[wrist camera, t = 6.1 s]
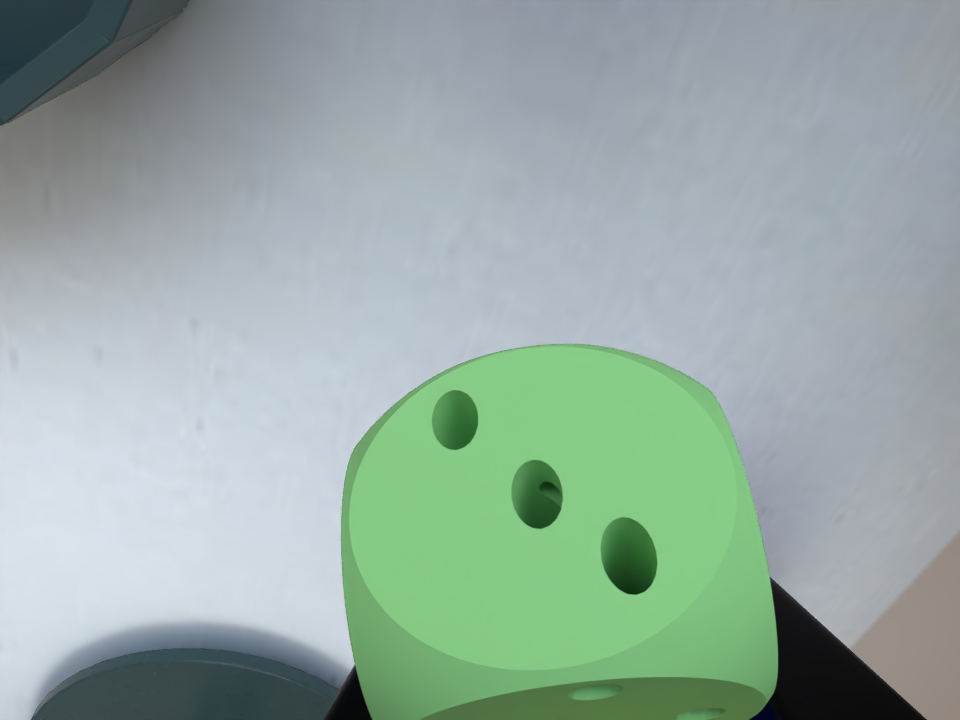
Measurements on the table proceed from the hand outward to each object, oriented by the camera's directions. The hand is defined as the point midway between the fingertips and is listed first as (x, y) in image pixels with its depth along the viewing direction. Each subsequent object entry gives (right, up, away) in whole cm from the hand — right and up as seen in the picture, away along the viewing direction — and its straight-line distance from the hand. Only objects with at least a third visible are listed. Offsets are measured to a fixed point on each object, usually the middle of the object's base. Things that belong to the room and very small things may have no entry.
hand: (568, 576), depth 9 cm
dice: (0, +1, +1) cm, 1 cm away
